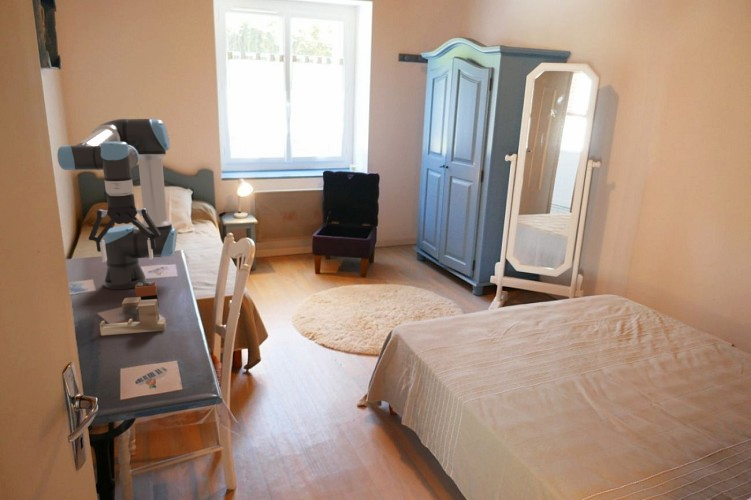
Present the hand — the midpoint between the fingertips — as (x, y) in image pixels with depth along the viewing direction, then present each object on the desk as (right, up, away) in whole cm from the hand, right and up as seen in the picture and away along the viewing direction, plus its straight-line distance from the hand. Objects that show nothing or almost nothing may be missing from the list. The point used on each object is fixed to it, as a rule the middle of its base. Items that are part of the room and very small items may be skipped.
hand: (128, 260), depth 164 cm
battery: (-3, -18, +22) cm, 29 cm away
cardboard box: (-4, -20, +13) cm, 25 cm away
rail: (0, -23, +4) cm, 23 cm away
